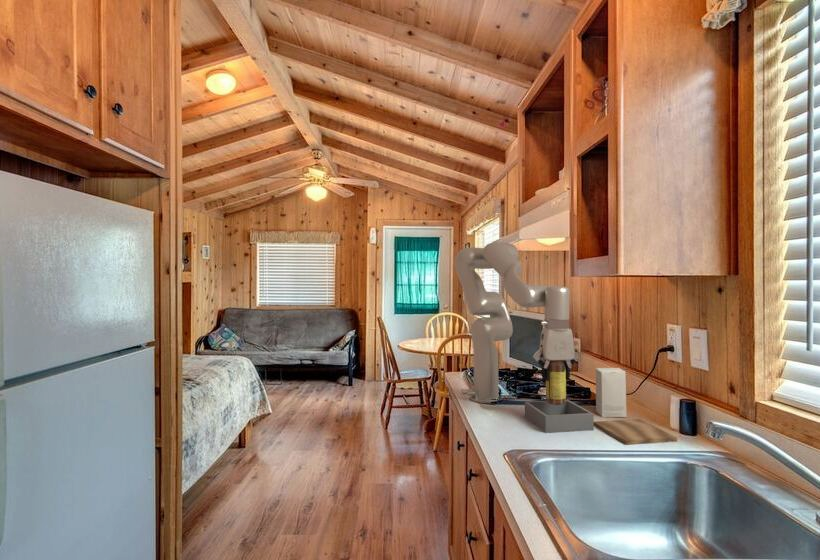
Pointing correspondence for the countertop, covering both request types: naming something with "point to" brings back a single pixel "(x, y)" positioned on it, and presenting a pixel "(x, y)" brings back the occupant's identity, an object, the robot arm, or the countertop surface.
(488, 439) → the countertop surface
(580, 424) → the bin
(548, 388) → the sauce bottle
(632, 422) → the board
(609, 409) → the skincare box
